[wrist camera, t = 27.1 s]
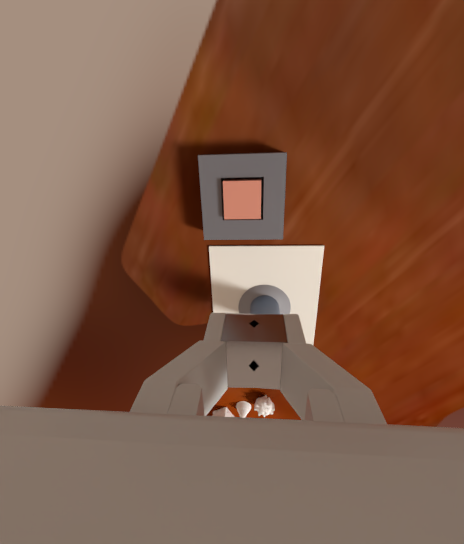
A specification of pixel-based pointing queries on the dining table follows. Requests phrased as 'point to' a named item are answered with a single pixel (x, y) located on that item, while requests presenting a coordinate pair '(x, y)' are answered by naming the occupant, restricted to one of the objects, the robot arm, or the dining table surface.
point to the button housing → (243, 166)
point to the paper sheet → (268, 279)
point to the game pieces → (261, 405)
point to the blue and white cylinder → (264, 305)
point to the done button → (242, 198)
